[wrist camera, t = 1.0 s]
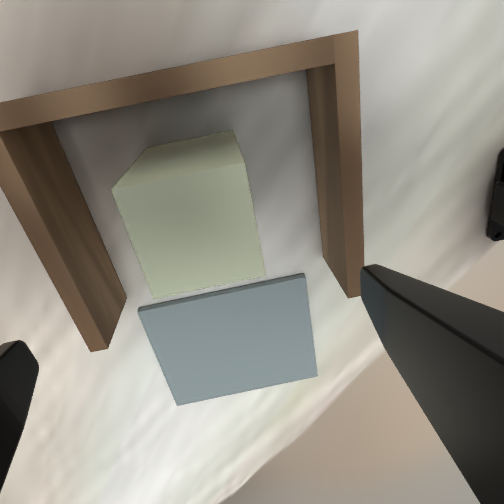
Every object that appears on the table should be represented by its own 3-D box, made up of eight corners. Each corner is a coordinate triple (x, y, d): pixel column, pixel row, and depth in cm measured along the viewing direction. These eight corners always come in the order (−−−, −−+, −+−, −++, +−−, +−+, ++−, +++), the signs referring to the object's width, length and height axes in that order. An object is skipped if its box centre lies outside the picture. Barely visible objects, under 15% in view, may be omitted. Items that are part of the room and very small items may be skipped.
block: (232, 130, 20) (244, 162, 13) (248, 210, 22) (266, 275, 15) (146, 147, 20) (110, 189, 13) (171, 226, 22) (153, 299, 15)
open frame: (322, 40, 18) (358, 29, 14) (337, 254, 24) (365, 294, 20) (21, 101, 18) (-41, 110, 14) (112, 300, 24) (90, 352, 20)
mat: (303, 273, 25) (305, 277, 24) (316, 371, 29) (317, 376, 29) (138, 307, 25) (137, 312, 24) (177, 400, 29) (177, 405, 29)
